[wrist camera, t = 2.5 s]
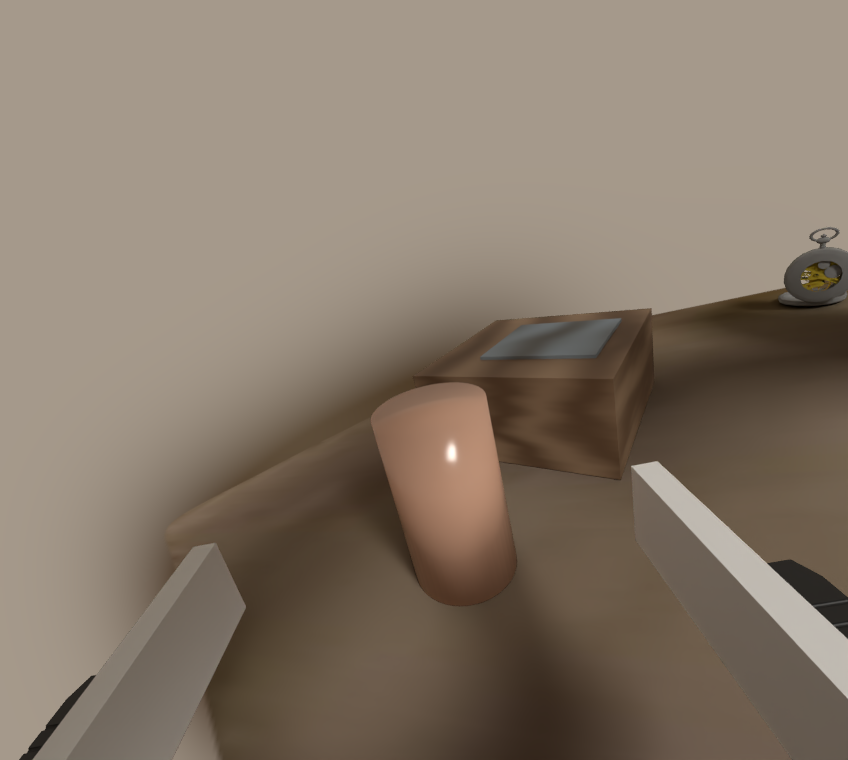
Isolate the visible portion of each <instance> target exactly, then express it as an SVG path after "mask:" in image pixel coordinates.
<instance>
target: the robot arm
mask: <svg viewBox="0 0 848 760" xmlns="http://www.w3.org/2000/svg"><path fill="white" fill-rule="evenodd" d="M631 471H632V489H633V507H634V524H635V540H636V542H637V543H638V544H639V546H640V547H641V549H642V550H643V551H644V553H645V554H646V556H647V557H648V558H649V560H650V561H651V563H652V564H653V565H654V567H655V568H656V570H657V571H658V572H659V574H660V575H661V577H662V578H663V579H664V581H665V582H666V584H667V585H668V586H669V588H670V589H671V591H672V592H673V593H674V595H675V596H676V598H677V599H678V600H679V602H680V603H681V605H682V606H683V607H684V609H685V610H686V612H687V613H688V614H689V616H690V617H691V619H692V620H693V621H694V623H695V624H696V626H697V627H698V628H699V630H700V631H701V633H702V634H703V635H704V637H705V638H706V640H707V641H708V642H709V644H710V645H711V647H712V648H713V649H714V651H715V652H716V654H717V655H718V656H719V658H720V659H721V661H722V662H723V663H724V665H725V666H726V668H727V669H728V670H729V672H730V673H731V675H732V676H733V677H734V679H735V680H736V682H737V683H738V684H739V686H740V687H741V689H742V690H743V691H744V693H745V694H746V696H747V697H748V698H749V700H750V701H751V703H752V704H753V706H754V707H755V708H756V710H757V711H758V713H759V714H760V715H761V717H762V718H763V720H764V721H765V722H766V724H767V725H768V727H769V728H770V729H771V731H772V732H773V734H774V735H775V736H776V738H777V739H778V741H779V742H780V743H781V745H782V746H783V748H784V749H785V750H786V752H787V753H788V755H789V756H790V757H791V759H792V760H848V597H847V596H845V595H844V594H843V593H842V592H841V591H839V590H838V589H837V588H836V587H835V586H833V585H832V584H831V583H830V582H829V581H827V580H826V579H825V578H824V577H823V576H821V575H819V574H817V573H815V572H813V571H811V570H810V569H808V568H806V567H804V566H802V565H800V564H798V563H796V562H794V561H793V560H791V559H790V560H784V561H778V562H772V563H766V562H765V561H764V560H763V559H761V558H760V557H759V556H758V555H757V554H756V553H755V552H754V551H753V550H752V549H751V548H750V547H749V546H748V545H747V544H745V543H744V542H743V541H742V540H741V539H740V538H739V537H738V536H737V535H736V534H735V533H734V532H733V531H732V530H730V529H729V528H728V527H727V526H726V525H725V524H724V523H723V522H722V521H721V520H720V519H719V518H718V517H717V516H715V515H714V514H713V513H712V512H711V511H710V510H709V509H708V508H707V507H706V506H705V505H704V504H703V503H702V502H700V501H699V500H698V499H697V498H696V497H695V496H694V495H693V494H692V493H691V492H690V491H689V490H688V489H687V488H685V487H684V486H683V485H682V484H681V483H680V482H679V481H678V480H677V479H676V478H675V477H674V476H673V475H672V474H670V473H669V472H668V471H667V470H666V469H665V468H664V467H663V466H662V465H661V464H660V463H659V462H658V461H656V462H651V463H645V464H640V465H634V466H631ZM245 608H246V605H245V603H244V601H243V599H242V597H241V595H240V593H239V591H238V589H237V586H236V584H235V582H234V580H233V578H232V576H231V574H230V572H229V570H228V567H227V565H226V563H225V561H224V559H223V557H222V555H221V553H220V551H219V548H218V546H217V544H216V543H212V544H206V545H201V546H196V547H193V548H192V549H191V551H190V552H189V553H188V555H187V556H186V557H185V559H184V560H183V561H182V563H181V564H180V565H179V567H178V568H177V569H176V571H175V572H174V573H173V575H172V576H171V577H170V578H169V580H168V581H167V582H166V584H165V585H164V587H163V588H162V589H161V590H160V592H159V593H158V594H157V596H156V597H155V598H154V600H153V601H152V602H151V604H150V605H149V606H148V608H147V609H146V610H145V612H144V613H143V614H142V616H141V617H140V618H139V620H138V621H137V622H136V624H135V625H134V626H133V627H132V629H131V630H130V631H129V633H128V634H127V635H126V637H125V638H124V640H123V641H122V642H121V643H120V645H119V646H118V647H117V649H116V650H115V652H114V653H113V654H112V655H111V657H110V658H109V659H108V661H107V662H106V663H105V665H104V666H103V667H102V669H101V670H100V671H99V673H98V674H97V675H95V676H91V677H90V678H89V679H88V680H87V681H86V682H84V683H83V684H82V685H81V686H80V687H79V688H78V689H77V690H76V691H75V692H74V693H73V694H72V695H71V696H70V697H68V699H67V700H66V701H65V702H64V703H63V705H62V706H61V707H60V708H59V710H58V711H57V712H56V713H55V715H54V716H53V717H52V719H51V720H50V721H49V722H48V724H47V725H46V729H45V730H44V731H41V733H40V734H39V735H38V737H37V738H36V739H35V740H34V742H33V743H32V744H31V746H30V747H29V751H28V752H27V753H26V754H23V756H22V757H21V758H20V759H19V760H172V758H173V757H174V755H175V753H176V751H177V748H178V746H179V744H180V742H181V740H182V738H183V736H184V734H185V732H186V730H187V728H188V726H189V724H190V722H191V719H192V717H193V715H194V713H195V711H196V709H197V707H198V705H199V703H200V701H201V699H202V697H203V695H204V693H205V691H206V689H207V687H208V685H209V683H210V681H211V678H212V676H213V674H214V672H215V670H216V668H217V666H218V664H219V662H220V660H221V658H222V656H223V654H224V652H225V650H226V648H227V646H228V643H229V641H230V639H231V637H232V635H233V633H234V631H235V629H236V627H237V625H238V623H239V621H240V619H241V617H242V615H243V613H244V611H245Z"/></svg>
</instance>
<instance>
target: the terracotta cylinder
mask: <svg viewBox="0 0 848 760" xmlns="http://www.w3.org/2000/svg"><path fill="white" fill-rule="evenodd" d="M371 425H372V428H373V431H374V435H375V438H376V441H377V445H378V448H379V451H380V455H381V458H382V461H383V465H384V468H385V471H386V475H387V478H388V481H389V485H390V488H391V491H392V495H393V498H394V501H395V505H396V508H397V512H398V515H399V518H400V522H401V525H402V528H403V532H404V535H405V538H406V542H407V545H408V548H409V552H410V555H411V558H412V562H413V565H414V568H415V572H416V575H417V578H418V582H419V584H420V586H421V588H422V589H423V590H424V592H425V593H426V594H427V595H428V596H430V597H431V598H433V599H434V600H436V601H438V602H441V603H444V604H447V605H452V606H469V605H475V604H478V603H482V602H484V601H487V600H489V599H491V598H493V597H494V596H496V595H497V594H499V593H500V592H501V591H502V590H503V589H505V588H506V586H507V585H508V584H509V583H510V581H511V580H512V578H513V576H514V574H515V571H516V567H517V556H516V550H515V545H514V540H513V534H512V529H511V524H510V519H509V513H508V508H507V503H506V497H505V492H504V487H503V482H502V476H501V471H500V466H499V460H498V455H497V450H496V445H495V439H494V434H493V429H492V423H491V418H490V413H489V408H488V402H487V397H486V393H485V392H484V390H483V389H481V388H480V387H478V386H476V385H473V384H468V383H459V382H449V383H438V384H432V385H427V386H423V387H419V388H415V389H412V390H409V391H407V392H404V393H401V394H400V395H397V396H395V397H393V398H391V399H389V400H388V401H386V402H384V403H383V404H382V405H380V406H379V407H378V408H377V409H376V410H375V411H374V413H373V414H372V417H371Z"/></svg>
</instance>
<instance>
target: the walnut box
mask: <svg viewBox="0 0 848 760" xmlns="http://www.w3.org/2000/svg"><path fill="white" fill-rule="evenodd" d="M413 378H414V383H415V387H416V388H419V387H423V386H427V385H432V384H438V383H449V382H459V383H468V384H473V385H476V386H478V387H480V388H481V389H483V390H484V392H485V393H486V397H487V402H488V408H489V413H490V418H491V423H492V429H493V434H494V439H495V445H496V450H497V455H498V460H499V461H500V462H506V463H513V464H520V465H526V466H533V467H539V468H546V469H552V470H559V471H565V472H572V473H579V474H585V475H592V476H598V477H605V478H611V479H618V480H621V478H622V475H623V472H624V469H625V466H626V463H627V460H628V457H629V454H630V451H631V449H632V446H633V443H634V440H635V437H636V434H637V431H638V428H639V425H640V422H641V419H642V416H643V414H644V411H645V408H646V405H647V402H648V399H649V396H650V393H651V390H652V387H653V384H654V364H653V338H652V313H651V308H650V309H637V310H625V311H612V312H599V313H586V314H573V315H560V316H548V317H535V318H522V319H510V320H497V321H495V322H493V323H492V324H490V325H489V326H487V327H486V328H484V329H483V330H481V331H480V332H478V333H477V334H475V335H474V336H472V337H471V338H469V339H468V340H466V341H465V342H463V343H462V344H460V345H459V346H457V347H456V348H454V349H453V350H451V351H450V352H448V353H447V354H445V355H444V356H442V357H441V358H439V359H438V360H436V361H435V362H433V363H432V364H431V365H429V366H428V367H426V368H424V369H423V370H421V371H420V372H418V373H417V374H415V375H414V376H413Z"/></svg>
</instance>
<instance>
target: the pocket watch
mask: <svg viewBox="0 0 848 760" xmlns="http://www.w3.org/2000/svg"><path fill="white" fill-rule="evenodd" d="M824 229H832V230H835V231H836V234H835V235H834V236H832V237H831V238H829V237H826V236H827V235H825V234H823V235H822V236H821V237H822V238H819V239H817V240H816V239H814V238H813V235H814V234H815V233H816V232H818V231H821V230H824ZM838 234H839V230H838V229H836V228H832V227H828V228H822V229H818V230H816V231H814V232H813V233H812V234H811V235H810V239H811V240H812V241H816V242H817V243H819V244H820V248H819V249H814V250H811V251H809V252H806V253H804V254H802V255H801V256H799V257H798V258H796V259H795V260H794V261H793V262H792V263H791V264H790V266H789V267H788V268H787V270H786V273H785V276H784V284H785V287H786V290H787V291H788V292H787V293H784V294H782V295H780V296H779V298H778V300H779V302H780V303H782V304H786V305H792V306H818V305H826V304H833V303H836V302H840V301H842V300H844V299H845V298H846V297H847V292H846V291H847V290H848V252H847V251H845V250H842V249H839V248H833V247H826V246H825V245H826V243H827V242H829V241H830V239H833V238H835V237H836V236H837V235H838ZM805 270H807V271H811V272H804V271H805ZM804 273H807V274H811V275H810V276H808V275H807V274H806V275H807V276H808V277H802V276H804V275H805V274H804ZM806 275H805V276H806ZM839 275H840V276H839ZM838 276H839V277H838ZM835 277H837V279H835ZM801 280H809V283H805V284H802V283H801ZM824 280H827V281H830V284H831V282H833V284H832V285H831V286H830V284H829V286H828V287H827V288H824V289H819V287H818V286H822V285H823V284H827V283H825V282H824ZM821 281H822V282H821ZM823 282H824V283H823ZM807 285H808V286H807ZM809 285H811V287H809ZM813 287H818V289H812V288H813Z"/></svg>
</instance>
